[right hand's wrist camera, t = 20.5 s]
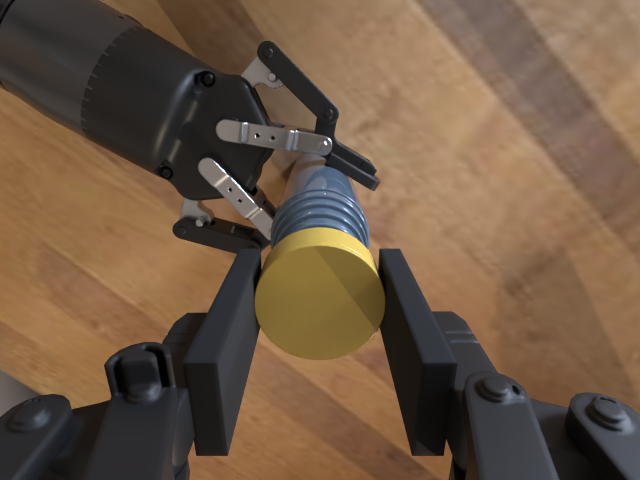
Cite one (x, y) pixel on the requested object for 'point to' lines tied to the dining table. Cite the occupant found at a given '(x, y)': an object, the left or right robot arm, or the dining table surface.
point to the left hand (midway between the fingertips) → (352, 217)
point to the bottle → (318, 202)
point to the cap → (319, 294)
